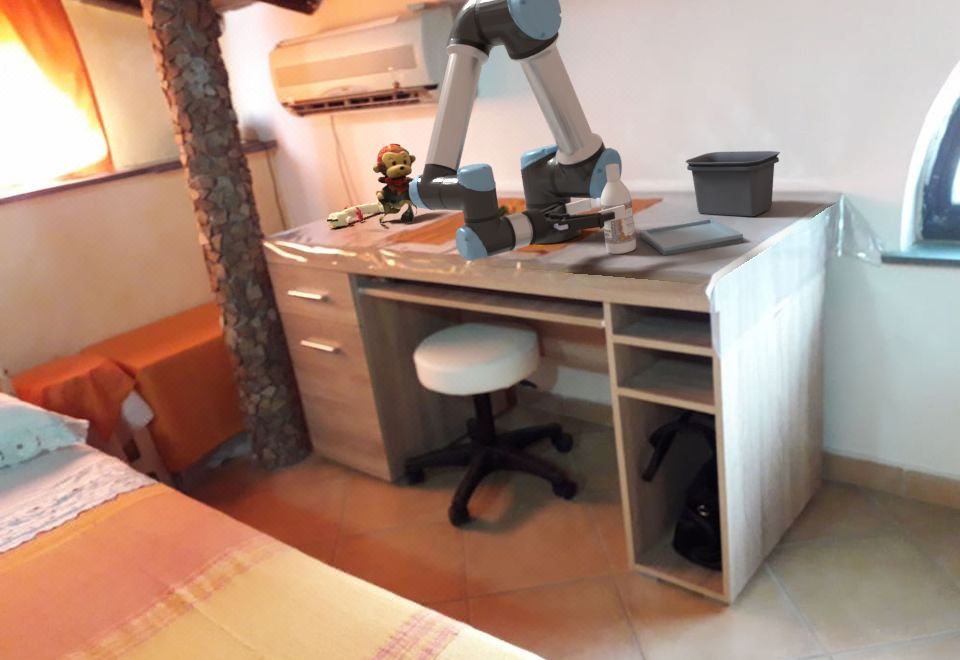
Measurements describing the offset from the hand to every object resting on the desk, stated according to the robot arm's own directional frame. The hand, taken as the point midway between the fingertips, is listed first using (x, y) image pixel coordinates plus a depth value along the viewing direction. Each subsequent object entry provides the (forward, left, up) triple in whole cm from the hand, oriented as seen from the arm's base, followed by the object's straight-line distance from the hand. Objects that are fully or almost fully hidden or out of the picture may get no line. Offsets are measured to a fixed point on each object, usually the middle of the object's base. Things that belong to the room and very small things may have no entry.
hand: (606, 207), depth 177 cm
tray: (0, +19, -11) cm, 22 cm away
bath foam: (-1, +3, -11) cm, 12 cm away
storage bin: (-19, +38, -11) cm, 44 cm away
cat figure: (-92, -64, -11) cm, 113 cm away
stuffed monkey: (-78, -49, -11) cm, 93 cm away
